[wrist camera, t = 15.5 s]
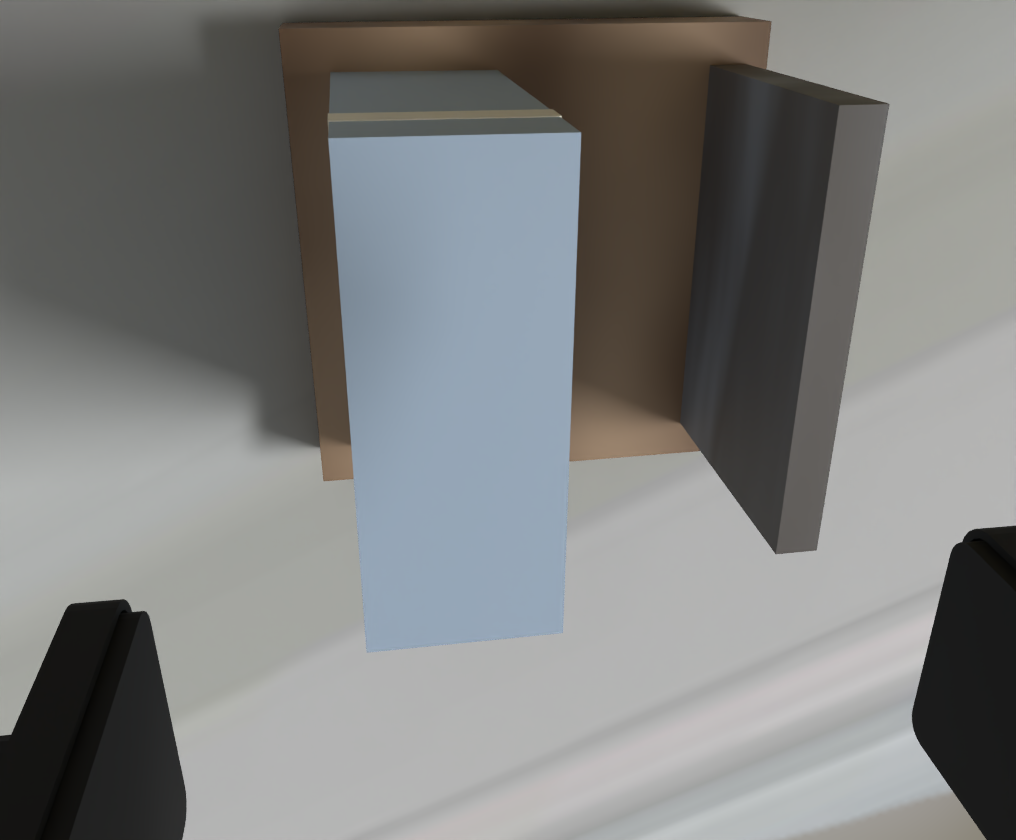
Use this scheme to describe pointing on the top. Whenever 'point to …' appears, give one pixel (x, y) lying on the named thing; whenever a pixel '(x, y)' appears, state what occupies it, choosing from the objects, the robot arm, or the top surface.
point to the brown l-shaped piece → (651, 236)
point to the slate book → (456, 349)
